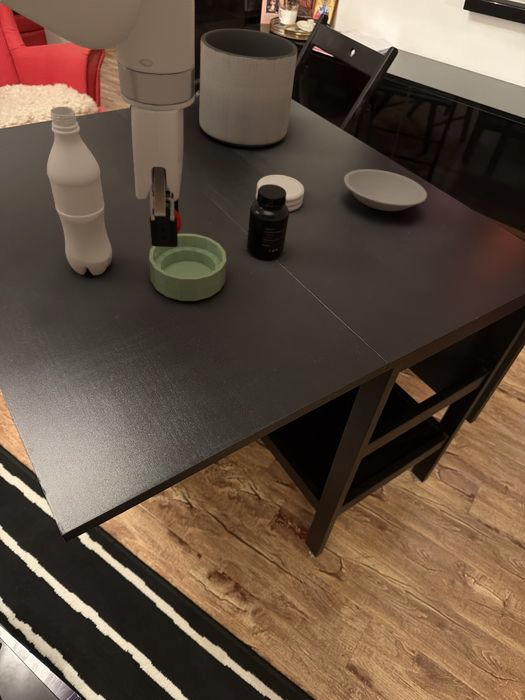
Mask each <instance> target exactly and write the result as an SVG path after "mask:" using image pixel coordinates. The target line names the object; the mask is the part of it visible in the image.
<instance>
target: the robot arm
mask: <svg viewBox="0 0 525 700" xmlns="http://www.w3.org/2000/svg"><path fill="white" fill-rule="evenodd" d="M0 4H1V5H3V6H5V7H6V8H9V9H10V10H12V11H14V12H15V13H17V14H19V15H21V16H23V17H24V18H26V19H28V20H30V21H32V22H33V23H35V24H37V25H39V26H40V27H42V28H44V29H46V30H48V31H49V32H51V33H53V34H55V35H57V36H58V37H60V38H62V39H64V40H65V41H67V42H69V43H71V44H74V45H76V46H79V47H81V48H85V49H90V50H100V51H101V50H102V51H103V50H106V49H112V48H114V47H115V52H116V59H117V72H118V80H119V89H120V97H121V99H122V100H123V101H124V103H126V104H128V105H129V106H131V109H130V115H131V116H130V117H131V123H130V125H131V143H132V158H133V159H132V160H133V173H134V188H135V189H134V190H135V198H137V200H139V201H142V200H147V198H148V196H149V210H150V216H149V220H150V223H149V228H150V239H151V240H150V241H151V245H152V247H153V246H156V247H177V245H178V234H179V233H178V234H177V217H175V210H176V211H177V212H178V213H179V212H180V211H179V199H180V193H181V186H182V185H181V183H182V174H183V163H184V162H183V161H184V109H185V108H189V107H190V106H192V104H194V103H195V98H196V95H195V93H196V90H195V87H196V86H195V85H196V84H195V81H196V80H195V75H196V74H195V73H196V72H195V71H196V69H195V68H196V67H195V63H196V61H195V0H0ZM166 203H168V204H169V206H170V210H169V207H166ZM174 209H175V210H174ZM179 214H180V213H179Z"/></svg>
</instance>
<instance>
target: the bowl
mask: <svg viewBox="0 0 525 700" xmlns="http://www.w3.org/2000/svg"><path fill="white" fill-rule="evenodd" d="M148 255H149V256H148V265H149V276H150V282H151V284H152V286H153V287H154V289H155V290H156V291H157V292H159V293H160V294H161V295H163V296H164V297H166V298H168V299H173V300H177V301H181V302H196V301H200V300H205V299H209V298H211V297H212V296H214V295H216V294H217V293H218V292H220V291H221V290H222V288H223V286H224V285H225V283H226V273H227V252H226V250H225V249H224V248H223V246H222V245H221V244H220V243H219V242H217V241H216V240H214V239H212V238H210V237H208V236H204V235H201V234H197V233H178V245H177V247H156V246H153V245H152V246H151V248H150V249H149V254H148Z"/></svg>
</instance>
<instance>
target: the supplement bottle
mask: <svg viewBox="0 0 525 700" xmlns="http://www.w3.org/2000/svg"><path fill="white" fill-rule="evenodd" d="M285 203H286V191H285V189H283V188H282V187H280V186H277V185H273V184H266V185H263V186H261V187H260V188H259V189H258V195H257V200H256V199H255V200H254V201H253V202H252V204H251V205H250V208H249V216H248V228H247V239H246V249H247V251H248V253H249V254H250V255H251V256H253V257H254V258H256V259H259V260H262V261H272V260H275V259H277V258H279V257H280V256H281V255H282V254H283V251H284V247H285V241H286V236H287V230H288V225H289V223H288V222H289V217H290V212H289V209H288V207H287V206H286V204H285Z"/></svg>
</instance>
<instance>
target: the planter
mask: <svg viewBox="0 0 525 700" xmlns="http://www.w3.org/2000/svg"><path fill="white" fill-rule="evenodd" d="M297 57H298V47H297V45H296V44H295V43H293V42H292V41H291V40H289V39H287V38H285V37H282V36H280V35H276V34H275V33H274V34H273V33H270V32H265V31H261V30H256V29H255V30H254V29H245V28H221V29H220V28H219V29H213V30H209V31H207V32H205V33H204V34H202V35H201V36H200V65H199V66H200V67H199V68H200V69H199V103H198V104H199V106H198V107H199V109H198V111H199V112H198V118H199V119H198V120H199V121H198V122H199V126H200V128H201V130H202V131H203V132H204V133H205V134H206V135H207V136H209V137H210V138H211V139H213V140H215V141H216V142H219V143H222V144H224V145H228V146H232V147H236V148H237V147H238V148H244V149H245V148H247V149H251V148H252V149H254V148H255V149H256V148H264V147H269V146H272V145H274V144H276V143H278V142H281V140H283V139H284V138H285V137H286V135H287V132H288V127H289V122H290V121H289V120H290V113H291V105H292V96H293V87H294V80H295V73H296V65H297Z"/></svg>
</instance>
